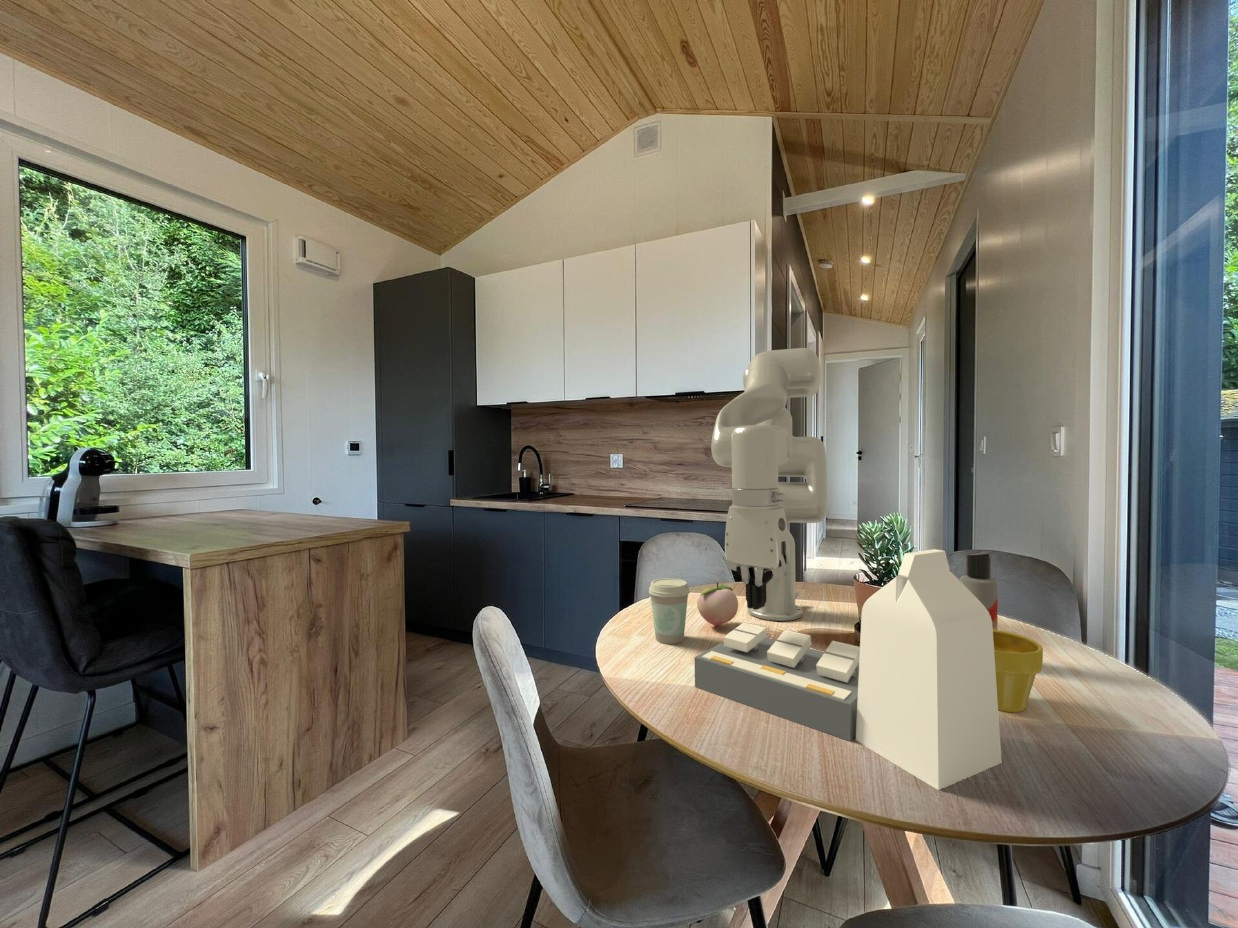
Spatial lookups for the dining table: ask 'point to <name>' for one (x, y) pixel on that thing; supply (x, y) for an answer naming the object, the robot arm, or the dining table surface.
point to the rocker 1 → (745, 637)
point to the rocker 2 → (789, 648)
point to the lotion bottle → (982, 583)
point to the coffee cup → (669, 609)
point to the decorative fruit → (717, 605)
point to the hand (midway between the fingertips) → (756, 606)
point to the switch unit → (781, 687)
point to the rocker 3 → (839, 661)
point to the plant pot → (1015, 669)
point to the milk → (928, 674)
